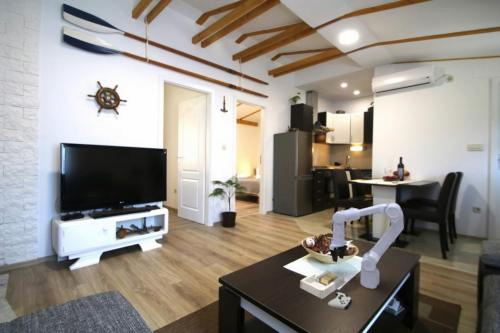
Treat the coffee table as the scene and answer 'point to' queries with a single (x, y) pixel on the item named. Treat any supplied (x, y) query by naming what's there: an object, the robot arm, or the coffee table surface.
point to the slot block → (338, 281)
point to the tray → (316, 287)
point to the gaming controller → (340, 301)
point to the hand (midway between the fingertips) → (338, 259)
